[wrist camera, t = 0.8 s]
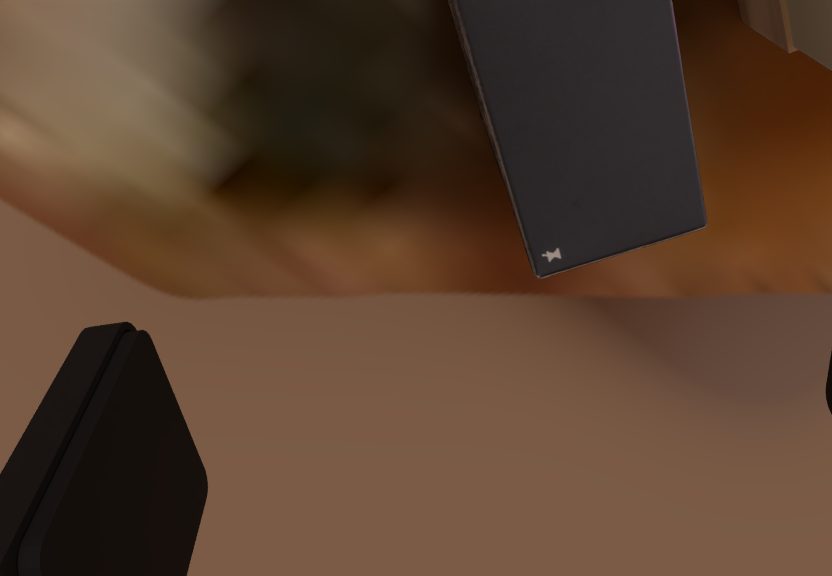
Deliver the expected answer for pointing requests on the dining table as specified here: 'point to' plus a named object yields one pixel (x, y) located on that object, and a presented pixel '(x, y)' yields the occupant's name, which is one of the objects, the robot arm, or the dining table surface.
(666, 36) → the small box
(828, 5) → the tower top
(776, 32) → the tower base
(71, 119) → the dining table surface
